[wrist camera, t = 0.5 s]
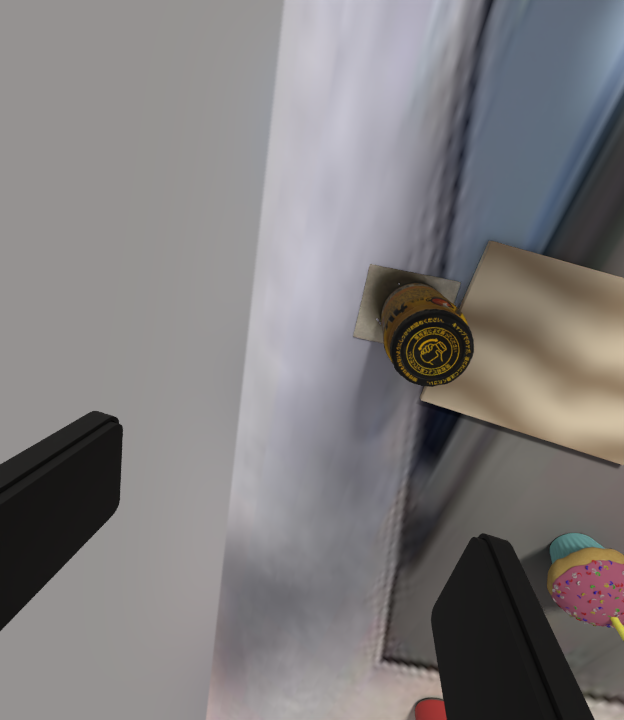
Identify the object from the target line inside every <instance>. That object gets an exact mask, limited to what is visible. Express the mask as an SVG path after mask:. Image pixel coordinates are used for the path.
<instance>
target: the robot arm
mask: <svg viewBox="0 0 624 720" xmlns="http://www.w3.org/2000/svg"><path fill="white" fill-rule="evenodd" d="M122 437H123V428H122V425H120V424H119V420H118V418H116V417H114V416H111V415H108V414H104V413H102V412H99V411H92V412H90V413H88V414H86V415H85V416H83V417H81V418H79V419H78V420H76V421H74V422H73V423H71V424H69V425H67V426H66V427H64V428H62V429H61V430H59V431H57V432H56V433H54V434H52V435H50V436H49V437H47V438H45V439H43V440H42V441H40V442H38V443H37V444H35V445H33V446H31V447H30V448H28V449H26V450H24V451H23V452H21V453H19V454H18V455H16V456H14V457H12V458H11V459H9V460H7V461H6V462H4V463H2V464H0V631H1V630H2V629H3V628H4V627H5V626H6V625H7V624H8V623H9V622H10V621H11V619H13V617H14V616H15V615H16V614H17V613H18V612H19V611H20V610H21V609H22V608H23V607H24V606H25V605H26V604H27V603H28V602H29V601H30V600H31V599H32V598H33V597H34V596H35V595H36V593H38V592H39V591H40V590H41V589H42V588H43V587H44V585H45V584H46V583H47V582H48V581H49V580H50V579H51V578H52V577H53V576H54V575H55V574H56V573H57V572H58V571H59V570H60V569H61V568H62V567H63V566H64V565H65V564H66V563H67V562H68V561H69V560H70V559H71V558H72V557H73V556H74V555H75V554H76V553H77V551H78V550H79V549H80V548H81V547H82V546H83V545H84V544H85V543H86V542H87V541H88V540H89V539H90V538H91V537H92V536H93V535H94V534H95V533H96V532H97V531H98V530H99V529H100V528H101V527H102V526H103V525H104V523H106V522H107V521H108V520H109V518H110V517H111V516H112V515H113V514H114V513H115V511H116V509H117V508H118V505H119V501H120V482H121V459H122ZM431 624H432V631H433V637H434V643H435V650H436V656H437V662H438V668H439V675H440V681H441V687H442V693H443V699H444V706H445V712H446V718H447V720H594V717H593V715H592V713H591V711H590V709H589V707H588V705H587V703H586V701H585V698H584V696H583V694H582V692H581V690H580V688H579V686H578V684H577V682H576V679H575V677H574V675H573V673H572V671H571V669H570V667H569V665H568V663H567V661H566V658H565V656H564V654H563V652H562V650H561V648H560V646H559V644H558V642H557V639H556V637H555V635H554V633H553V631H552V629H551V627H550V625H549V623H548V620H547V618H546V616H545V614H544V612H543V610H542V608H541V606H540V604H539V601H538V599H537V597H536V595H535V593H534V591H533V589H532V587H531V585H530V583H529V580H528V578H527V576H526V574H525V572H524V570H523V568H522V566H521V564H520V561H519V559H518V557H517V555H516V553H515V551H514V549H513V547H512V545H511V544H510V543H509V542H508V541H506V540H503V539H500V538H497V537H494V536H491V535H487V534H481V535H479V537H478V538H476V537H473V538H471V540H470V541H469V543H468V545H467V547H466V549H465V550H464V552H463V554H462V556H461V558H460V560H459V561H458V563H457V565H456V567H455V569H454V570H453V572H452V574H451V576H450V578H449V580H448V581H447V583H446V585H445V587H444V589H443V590H442V592H441V594H440V596H439V598H438V600H437V601H436V603H435V605H434V607H433V610H432V616H431Z"/></svg>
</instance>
